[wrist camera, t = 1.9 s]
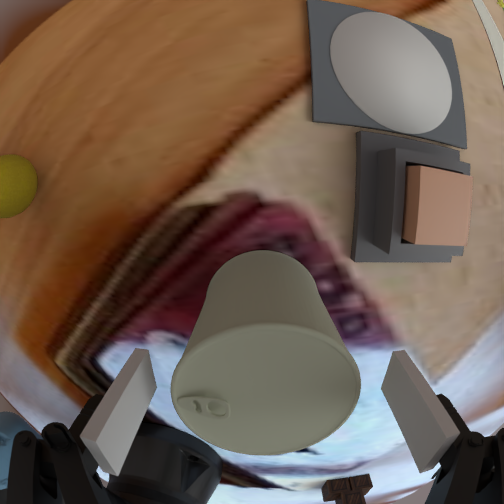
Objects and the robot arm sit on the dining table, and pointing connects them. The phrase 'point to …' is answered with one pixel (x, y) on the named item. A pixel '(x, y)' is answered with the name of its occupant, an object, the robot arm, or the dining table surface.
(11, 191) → the lemon
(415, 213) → the button
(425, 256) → the button base
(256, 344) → the can
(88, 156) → the dining table surface
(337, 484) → the stack of crates
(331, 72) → the slate board
